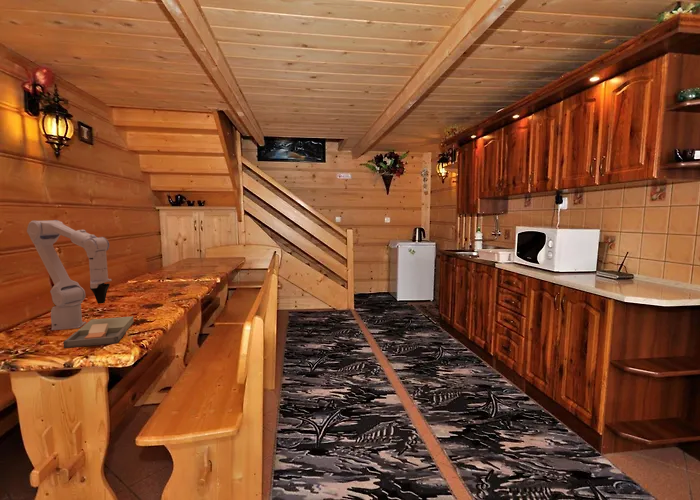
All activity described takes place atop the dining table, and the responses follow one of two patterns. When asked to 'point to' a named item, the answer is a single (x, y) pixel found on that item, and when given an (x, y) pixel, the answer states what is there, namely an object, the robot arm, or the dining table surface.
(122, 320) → the beige square slab
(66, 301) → the robot arm
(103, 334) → the terracotta tile
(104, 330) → the cream tile
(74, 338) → the box
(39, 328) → the dining table surface
